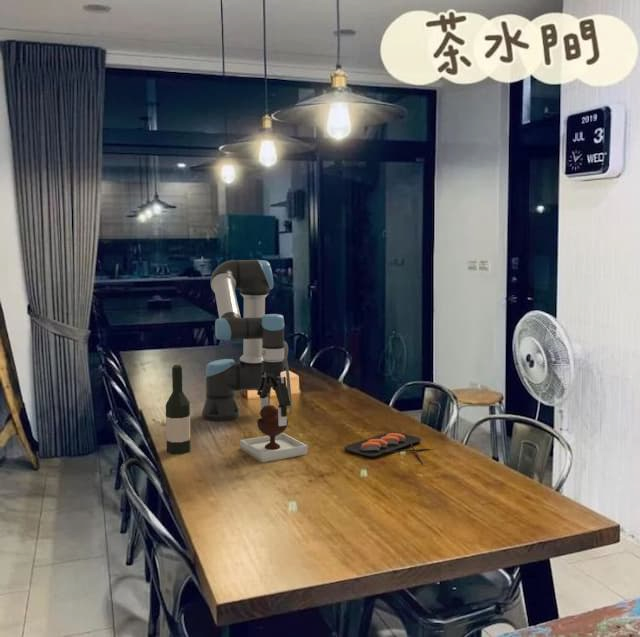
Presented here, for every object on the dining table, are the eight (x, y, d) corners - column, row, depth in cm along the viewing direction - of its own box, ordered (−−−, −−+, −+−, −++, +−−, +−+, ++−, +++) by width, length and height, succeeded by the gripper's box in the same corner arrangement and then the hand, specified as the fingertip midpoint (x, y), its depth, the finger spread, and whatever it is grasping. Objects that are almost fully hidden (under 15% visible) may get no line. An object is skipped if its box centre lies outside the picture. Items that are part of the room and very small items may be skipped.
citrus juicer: (267, 411, 288) (266, 341, 285) (277, 406, 297) (277, 338, 294) (291, 413, 284) (291, 343, 280) (300, 408, 293) (301, 339, 289)
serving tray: (240, 448, 236) (240, 440, 236) (283, 441, 245) (283, 433, 245) (261, 462, 222) (261, 453, 221) (307, 454, 230) (307, 445, 230)
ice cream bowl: (284, 452, 228) (284, 409, 226) (252, 450, 230) (252, 407, 228) (291, 443, 238) (291, 402, 236) (261, 441, 240) (260, 400, 238)
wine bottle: (195, 448, 236) (193, 363, 233) (183, 455, 228) (181, 368, 225) (174, 446, 239) (172, 362, 235) (161, 453, 231) (159, 366, 228)
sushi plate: (392, 435, 255) (393, 425, 254) (461, 453, 234) (461, 442, 233) (340, 452, 234) (340, 442, 234) (409, 473, 213) (409, 462, 213)
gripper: (247, 355, 238) (248, 414, 241) (280, 366, 217) (280, 431, 220) (266, 353, 242) (267, 411, 245) (300, 364, 221) (300, 428, 223)
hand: (273, 421), depth 232 cm, fingers open, 13 cm apart
